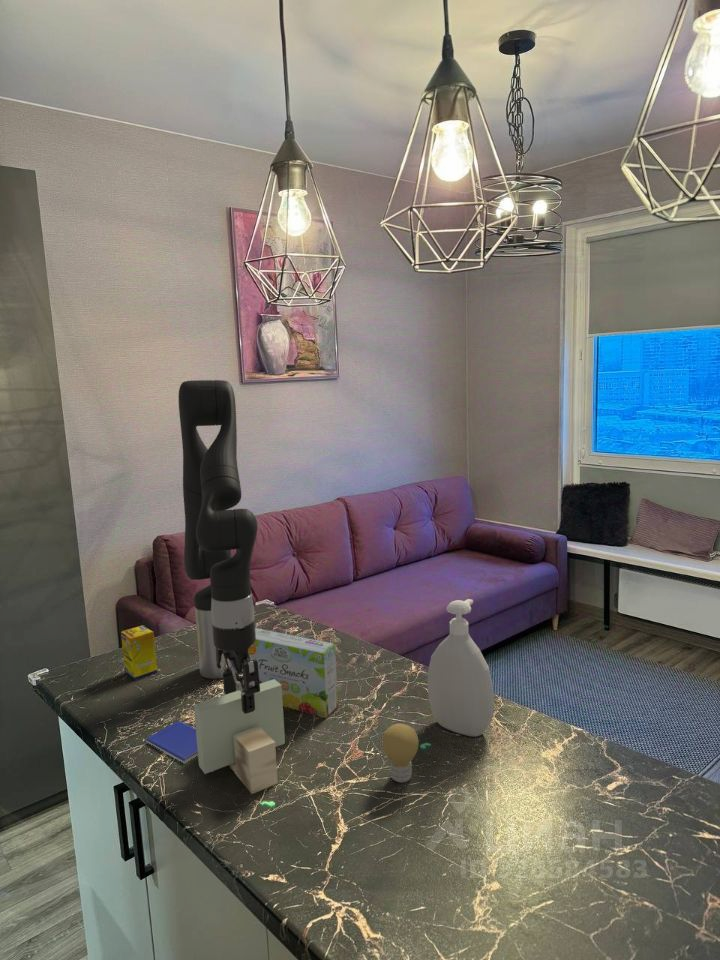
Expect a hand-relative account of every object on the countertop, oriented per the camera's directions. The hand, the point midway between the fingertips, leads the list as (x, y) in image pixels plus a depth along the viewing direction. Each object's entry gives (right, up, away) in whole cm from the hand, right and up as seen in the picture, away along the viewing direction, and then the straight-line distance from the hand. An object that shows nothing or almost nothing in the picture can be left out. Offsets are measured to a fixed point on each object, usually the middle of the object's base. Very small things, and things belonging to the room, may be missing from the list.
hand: (239, 701), depth 120 cm
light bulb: (+30, -13, -4) cm, 32 cm away
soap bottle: (+43, -9, +12) cm, 46 cm away
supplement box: (-32, -7, +41) cm, 53 cm away
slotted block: (+1, -12, +2) cm, 13 cm away
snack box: (+7, -9, +24) cm, 27 cm away
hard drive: (-13, -12, +10) cm, 21 cm away
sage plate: (0, -10, +2) cm, 11 cm away
